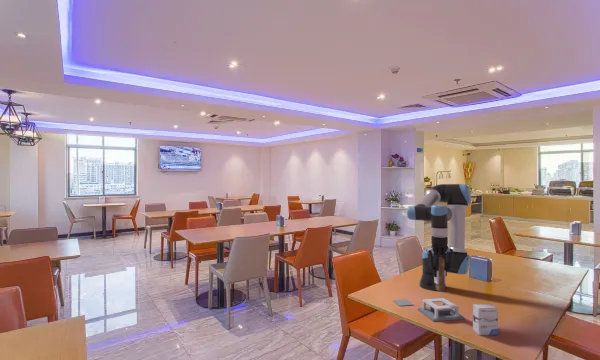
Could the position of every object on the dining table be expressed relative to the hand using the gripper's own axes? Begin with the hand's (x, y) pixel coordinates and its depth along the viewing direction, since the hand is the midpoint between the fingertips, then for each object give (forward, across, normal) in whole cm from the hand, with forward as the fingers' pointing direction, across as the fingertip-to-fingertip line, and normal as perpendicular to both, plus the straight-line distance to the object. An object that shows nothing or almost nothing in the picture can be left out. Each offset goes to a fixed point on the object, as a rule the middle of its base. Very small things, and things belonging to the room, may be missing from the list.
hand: (439, 282), depth 160 cm
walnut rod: (+4, 0, 0) cm, 4 cm away
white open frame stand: (+15, 0, 0) cm, 15 cm away
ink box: (+16, -8, +21) cm, 28 cm away
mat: (+16, +11, -17) cm, 25 cm away
